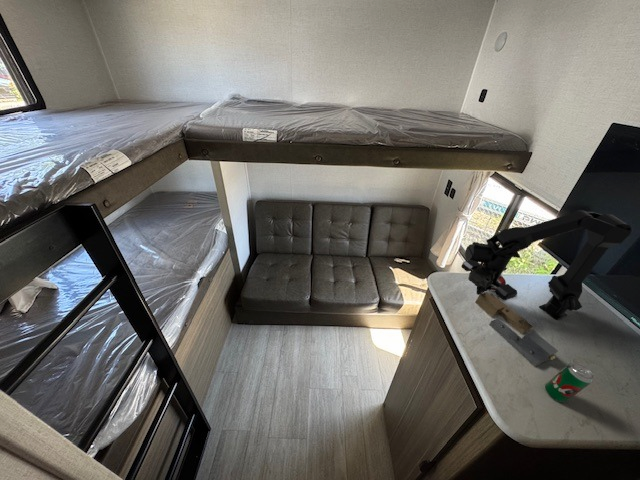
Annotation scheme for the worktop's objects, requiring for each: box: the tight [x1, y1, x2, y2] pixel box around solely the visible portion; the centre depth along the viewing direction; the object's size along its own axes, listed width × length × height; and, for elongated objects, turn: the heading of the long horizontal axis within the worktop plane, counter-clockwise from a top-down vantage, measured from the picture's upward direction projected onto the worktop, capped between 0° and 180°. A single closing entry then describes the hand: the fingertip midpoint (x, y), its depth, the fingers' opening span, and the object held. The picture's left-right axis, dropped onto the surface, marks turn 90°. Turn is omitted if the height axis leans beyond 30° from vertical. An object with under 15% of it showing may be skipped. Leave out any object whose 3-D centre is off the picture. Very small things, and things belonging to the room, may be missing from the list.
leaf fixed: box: [488, 318, 559, 367], centre depth 82 cm, size 7×17×4 cm, turn 22°
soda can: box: [544, 362, 595, 403], centre depth 67 cm, size 5×5×12 cm
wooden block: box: [475, 291, 534, 335], centre depth 91 cm, size 8×16×4 cm, turn 22°
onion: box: [491, 274, 507, 291], centre depth 101 cm, size 6×6×8 cm
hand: (478, 294), depth 97 cm, fingers closed
